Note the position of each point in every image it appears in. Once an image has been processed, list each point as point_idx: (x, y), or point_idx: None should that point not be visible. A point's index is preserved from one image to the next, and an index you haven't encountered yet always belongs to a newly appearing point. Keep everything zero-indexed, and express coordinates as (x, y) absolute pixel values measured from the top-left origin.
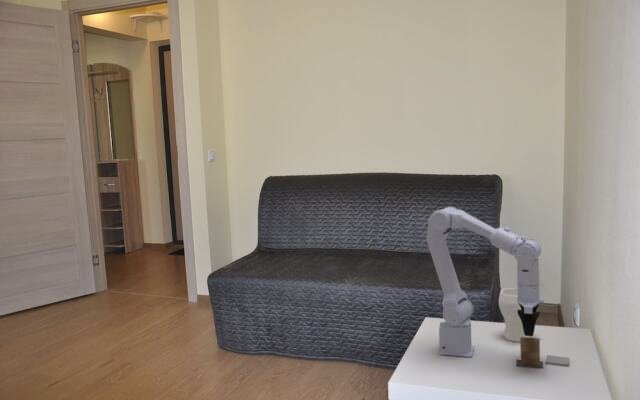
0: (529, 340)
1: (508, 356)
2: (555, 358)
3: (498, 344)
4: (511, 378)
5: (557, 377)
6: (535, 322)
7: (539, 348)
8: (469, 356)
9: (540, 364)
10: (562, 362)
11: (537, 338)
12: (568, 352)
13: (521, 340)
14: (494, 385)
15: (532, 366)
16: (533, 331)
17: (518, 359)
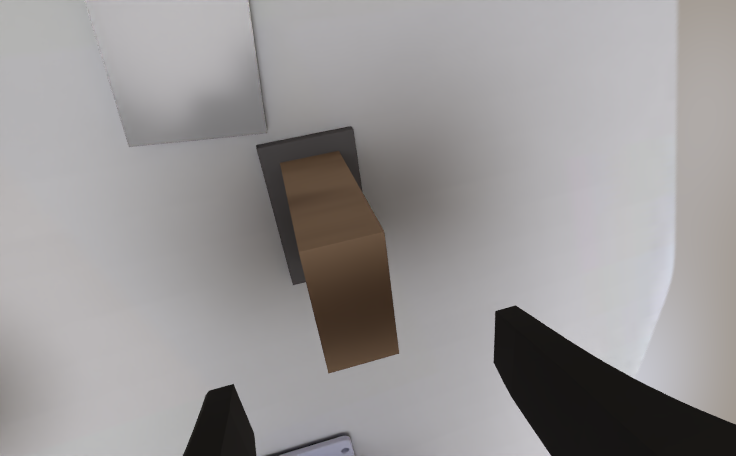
0: (383, 303)
1: (250, 328)
2: (164, 74)
3: (92, 421)
4: (522, 237)
5: (458, 17)
6: (684, 403)
7: (366, 203)
8: (350, 441)
9: (315, 152)
10: (221, 8)
11: (308, 266)
12: None
13: (397, 346)
14: (600, 271)
15: (361, 187)
16: (553, 332)
17: (292, 276)
